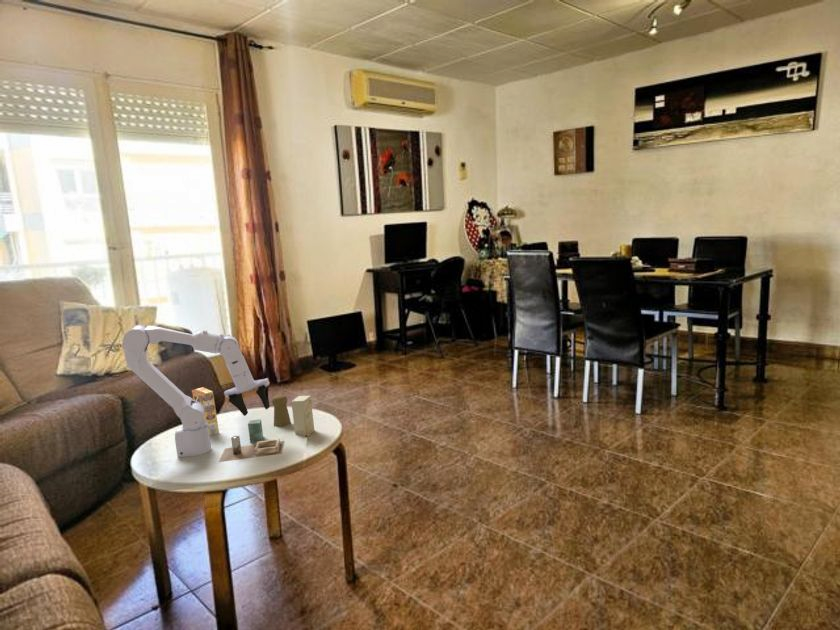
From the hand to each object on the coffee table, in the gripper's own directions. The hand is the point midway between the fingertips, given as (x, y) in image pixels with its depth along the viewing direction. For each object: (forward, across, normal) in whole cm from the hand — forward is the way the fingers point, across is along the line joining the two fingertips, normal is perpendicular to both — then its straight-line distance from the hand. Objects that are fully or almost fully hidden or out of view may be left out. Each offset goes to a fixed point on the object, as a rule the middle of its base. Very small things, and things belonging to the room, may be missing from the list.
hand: (256, 411), depth 172 cm
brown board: (+9, +1, +10) cm, 14 cm away
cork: (+12, 0, -13) cm, 18 cm away
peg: (+10, +4, +1) cm, 11 cm away
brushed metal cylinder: (+7, +5, +11) cm, 14 cm away
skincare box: (+14, -10, -5) cm, 18 cm away
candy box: (+6, +24, -9) cm, 27 cm away
